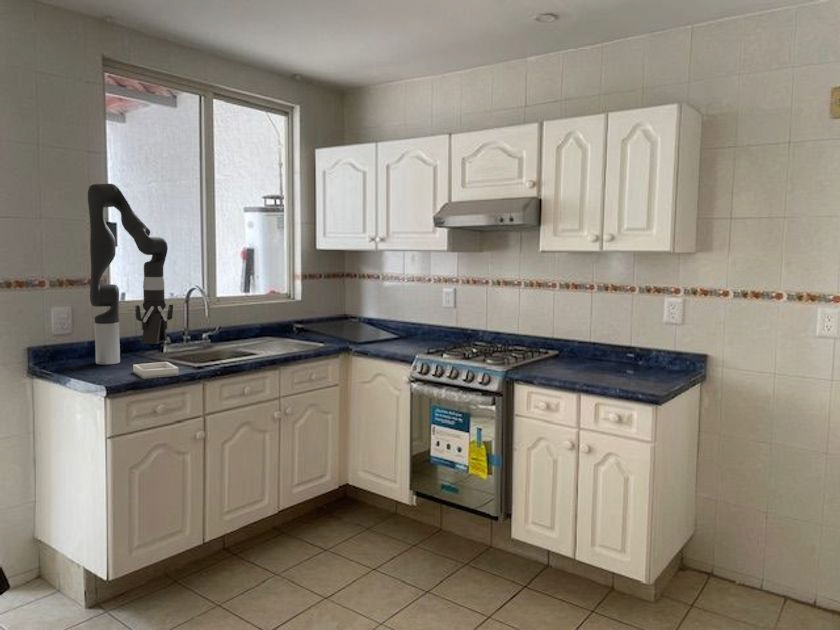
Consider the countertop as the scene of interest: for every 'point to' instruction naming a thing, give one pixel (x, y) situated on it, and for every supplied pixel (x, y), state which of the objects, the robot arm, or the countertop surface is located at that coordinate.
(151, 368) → the tray
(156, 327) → the dark tent sign
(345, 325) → the countertop surface
